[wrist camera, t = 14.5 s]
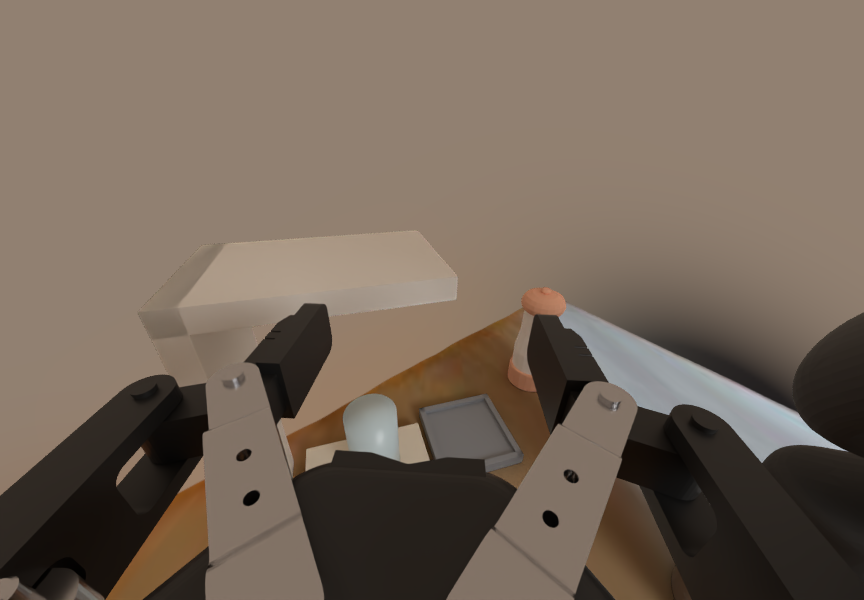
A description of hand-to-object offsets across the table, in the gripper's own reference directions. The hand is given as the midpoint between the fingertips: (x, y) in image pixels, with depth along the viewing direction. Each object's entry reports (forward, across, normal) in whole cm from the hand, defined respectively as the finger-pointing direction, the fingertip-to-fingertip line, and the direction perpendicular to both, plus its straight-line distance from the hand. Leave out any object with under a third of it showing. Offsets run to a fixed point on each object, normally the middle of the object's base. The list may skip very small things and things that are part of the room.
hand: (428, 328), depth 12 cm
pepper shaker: (+36, -17, +35) cm, 53 cm away
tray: (+22, -5, +35) cm, 42 cm away
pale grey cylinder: (+15, +7, +33) cm, 37 cm away
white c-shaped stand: (+14, +9, +35) cm, 39 cm away
